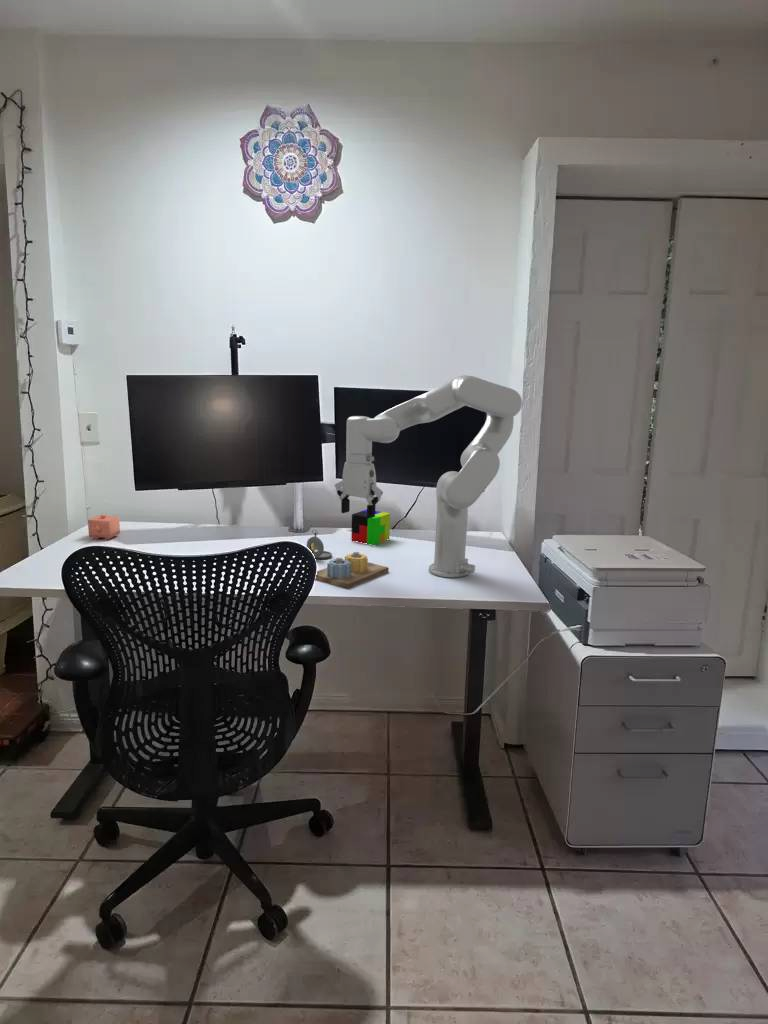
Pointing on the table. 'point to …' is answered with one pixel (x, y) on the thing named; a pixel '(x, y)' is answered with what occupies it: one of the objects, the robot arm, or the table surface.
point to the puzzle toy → (370, 527)
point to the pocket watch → (317, 547)
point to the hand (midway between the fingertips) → (358, 514)
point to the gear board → (353, 574)
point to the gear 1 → (339, 569)
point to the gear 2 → (357, 562)
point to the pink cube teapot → (103, 526)
